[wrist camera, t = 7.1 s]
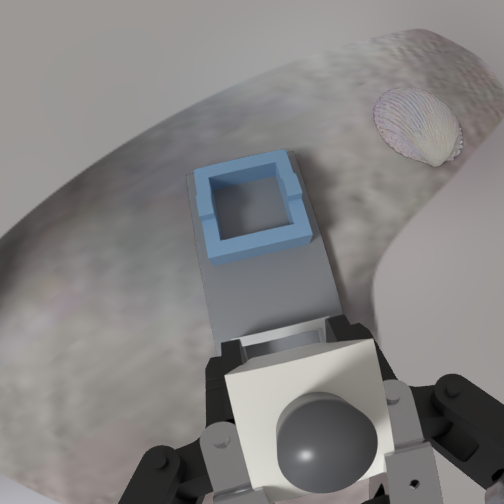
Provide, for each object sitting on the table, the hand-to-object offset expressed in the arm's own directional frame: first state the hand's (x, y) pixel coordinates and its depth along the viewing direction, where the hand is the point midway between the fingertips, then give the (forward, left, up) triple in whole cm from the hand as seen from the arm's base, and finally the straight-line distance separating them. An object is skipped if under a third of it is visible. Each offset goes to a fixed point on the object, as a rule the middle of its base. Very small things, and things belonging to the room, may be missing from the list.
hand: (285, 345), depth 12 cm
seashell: (+24, 0, -10) cm, 26 cm away
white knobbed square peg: (-1, -2, -5) cm, 5 cm away
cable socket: (+3, +3, -10) cm, 11 cm away
